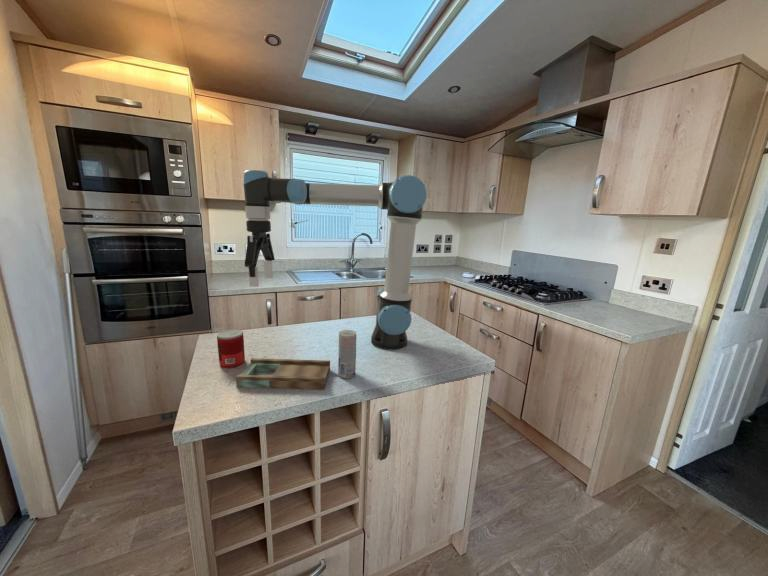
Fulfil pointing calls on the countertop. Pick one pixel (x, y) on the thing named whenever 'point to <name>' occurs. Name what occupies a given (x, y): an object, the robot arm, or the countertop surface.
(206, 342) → the countertop surface
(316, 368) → the rail board
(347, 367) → the beverage can
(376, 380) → the countertop surface
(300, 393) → the countertop surface
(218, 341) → the canned food
